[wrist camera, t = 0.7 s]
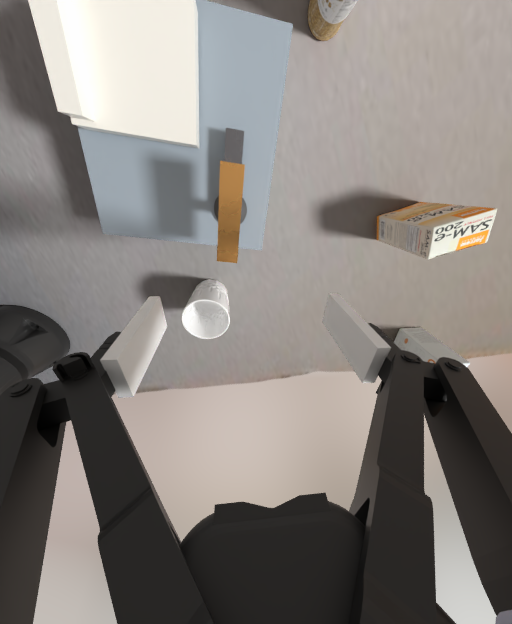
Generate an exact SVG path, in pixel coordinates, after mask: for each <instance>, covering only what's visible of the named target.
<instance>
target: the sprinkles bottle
mask: <svg viewBox="0 0 512 624" xmlns="http://www.w3.org/2000/svg"><path fill="white" fill-rule="evenodd" d="M357 1H358V0H310V3H309V8H308V23H309V27H310V30H311V32H312V34H313V35H314V36H315V37H316V38H317V39H319V40H322V41H327V40H329V39H331V38H332V37H333V36H334V35H335V34H336V33H337V31H338V30H339V28H340V26H341V24H342V22H343V21H344V19H345V18H346V17H347V16H348V14H349V13H350V11H351V10H352V8H353V7H354V5H355V4H356V3H357Z"/></svg>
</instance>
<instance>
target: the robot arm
mask: <svg viewBox="0 0 512 624" xmlns="http://www.w3.org/2000/svg"><path fill="white" fill-rule="evenodd" d="M322 322H323V323H324V325H325V327H326V328H327V330H328V331H329V333H330V334H331V336H332V337H333V339H334V340H335V342H336V343H337V345H338V346H339V348H340V349H341V351H342V353H343V354H344V356H345V357H346V359H347V360H348V362H349V363H350V365H351V366H352V368H353V369H354V371H355V372H356V374H357V375H358V377H359V378H360V380H361V382H362V383H374V382H375V380H376V378H377V376H379V377H380V378H381V380H382V381H381V384H380V385H379V387H378V389H377V391H376V393H377V394H378V396H377V400H376V404H375V409H374V413H373V418H372V422H371V427H370V431H369V435H368V440H367V444H366V449H365V453H364V458H363V462H362V467H361V471H360V475H359V480H358V485H357V488H356V493H355V496H354V499H353V502H352V504H351V507H350V510H349V511H347V510H346V509H344V508H343V507H341V506H339V505H337V504H334V503H332V502H329V501H328V500H327V497H326V493H319V494H310V495H300V496H297V497H296V498H293V499H291V500H289V501H287V502H285V503H283V504H281V505H279V506H277V507H275V508H267V507H263V506H258V505H255V504H250V503H246V502H236V503H227V504H217V505H215V511H214V513H213V514H211V515H209V516H208V517H206V518H205V519H203V520H202V521H200V522H199V523H198V524H197V525H196V526H195V527H194V528H193V529H192V530H191V531H190V532H189V533H188V534H187V536H186V537H185V538H184V539H183V541H182V542H181V541H180V539H179V537H178V535H177V533H176V531H175V529H174V527H173V525H172V523H171V521H170V519H169V517H168V515H167V513H166V511H165V509H164V507H163V504H162V502H161V500H160V498H159V496H158V494H157V492H156V490H155V488H154V486H153V484H152V481H151V479H150V477H149V475H148V473H147V471H146V469H145V467H144V465H143V463H142V460H141V458H140V456H139V454H138V452H137V450H136V448H135V446H134V444H133V442H132V440H131V437H130V435H129V433H128V431H127V429H126V427H125V425H124V423H123V421H122V419H121V417H120V414H119V413H118V411H117V408H116V406H115V404H114V402H113V400H112V398H111V397H112V395H113V394H114V392H115V391H116V393H117V395H118V397H119V398H123V397H134V395H135V393H136V391H137V389H138V386H139V384H140V382H141V380H142V378H143V376H144V374H145V372H146V370H147V368H148V366H149V363H150V361H151V359H152V357H153V355H154V353H155V351H156V349H157V347H158V345H159V343H160V340H161V338H162V336H163V334H164V332H165V330H166V328H167V323H166V319H165V315H164V311H163V307H162V303H161V299H160V296H149V297H148V299H147V300H146V301H145V303H144V304H143V305H142V307H141V308H140V309H139V310H138V312H137V313H136V314H135V316H134V317H133V318H132V319H131V321H130V322H129V323H128V325H127V326H126V327H125V329H124V330H123V331H122V332H115V333H114V334H112V335H111V336H109V337H108V338H107V339H106V340H105V342H104V343H103V344H102V345H101V346H100V348H99V349H98V350H97V351H96V352H95V353H94V355H93V356H92V357H91V358H90V356H89V355H88V354H87V353H83V352H79V353H74V354H70V355H68V356H66V355H67V353H68V352H69V349H70V341H69V338H68V336H67V334H66V333H65V331H64V330H63V329H62V328H61V327H60V326H59V325H58V324H57V323H56V322H55V321H53V320H52V319H50V318H49V317H47V316H45V315H43V314H41V313H39V312H37V311H34V310H32V309H28V308H25V307H20V306H0V624H33V618H34V613H35V607H36V601H37V595H38V589H39V583H40V577H41V571H42V565H43V559H44V553H45V547H46V540H47V535H48V528H49V523H50V516H51V511H52V504H53V499H54V493H55V486H56V480H57V474H58V468H59V462H60V456H61V450H62V444H63V438H64V432H65V426H66V422H67V421H70V420H71V421H72V424H73V428H74V432H75V436H76V440H77V443H78V447H79V451H80V455H81V458H82V462H83V466H84V470H85V473H86V477H87V481H88V485H89V488H90V492H91V496H92V500H93V503H94V507H95V511H96V515H97V519H98V522H99V526H100V533H99V535H98V546H99V551H100V555H101V559H102V563H103V567H104V571H105V576H106V579H107V583H108V588H109V591H110V596H111V599H112V604H113V608H114V612H115V616H116V620H117V623H118V624H456V623H455V622H454V621H453V620H452V619H451V618H450V617H449V616H448V615H447V613H446V612H445V611H444V610H443V609H442V608H441V607H440V606H439V605H438V604H437V603H436V589H435V556H434V523H433V506H432V501H431V499H430V497H428V496H427V495H425V493H424V415H425V418H426V421H427V423H428V427H429V430H430V433H431V436H432V439H433V442H434V444H435V447H436V451H437V453H438V457H439V459H440V462H441V466H442V469H443V471H444V474H445V477H446V480H447V484H448V486H449V489H450V492H451V496H452V498H453V502H454V505H455V508H456V510H457V513H458V516H459V519H460V522H461V525H462V528H463V531H464V534H465V537H466V540H467V543H468V546H469V549H470V552H471V555H472V558H473V561H474V564H475V566H476V569H477V572H478V575H479V577H480V580H481V582H482V585H483V587H484V589H485V592H486V594H487V596H488V598H489V600H490V603H491V605H492V607H493V609H494V612H495V613H496V615H497V617H496V624H512V434H511V432H510V431H509V429H508V428H507V426H506V425H505V423H504V422H503V420H502V418H501V417H500V416H499V414H498V413H497V411H496V409H495V408H494V407H493V405H492V403H491V402H490V401H489V399H488V398H487V396H486V395H485V393H484V392H483V390H482V388H481V387H480V385H479V384H478V382H477V381H476V379H475V378H474V376H473V375H472V373H471V372H470V370H469V369H468V368H467V367H466V366H465V365H463V364H462V363H461V362H459V361H457V360H455V359H451V358H447V357H441V358H439V359H438V360H437V362H436V363H431V362H425V361H423V360H422V359H421V358H420V357H419V356H417V355H416V354H414V353H412V352H409V351H405V350H401V349H400V348H399V347H398V346H397V345H396V344H395V343H394V342H392V341H391V340H390V339H389V338H388V337H387V336H386V335H385V334H384V333H383V332H382V331H381V330H380V329H379V328H378V327H376V326H375V325H373V324H371V323H367V322H366V321H365V320H364V319H363V318H362V317H361V316H360V315H359V314H358V313H357V312H356V311H355V310H354V309H353V308H352V307H351V306H350V305H349V304H348V303H347V302H346V301H345V300H344V299H343V298H342V297H341V296H340V295H339V294H338V293H329V295H328V299H327V304H326V308H325V312H324V317H323V321H322ZM52 366H53V371H54V373H55V374H56V375H57V377H58V378H59V380H58V381H55V382H51V383H47V384H43V383H42V382H41V380H39V379H38V378H31V377H33V376H35V375H37V374H39V373H41V372H43V371H44V370H46V369H48V368H50V367H52ZM29 378H31V379H29Z"/></svg>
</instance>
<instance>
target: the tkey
mask: <svg viewBox="0 0 512 624" xmlns="http://www.w3.org/2000/svg"><path fill="white" fill-rule="evenodd" d="M243 142H244V131H242V130H237V129H231V128H226V133H225V159H224V161H220V179H219V212H218V245H217V261H222V262H233V263H237V258H238V245H239V233H240V220H241V208H242V196H243V183H244V171H245V165H243V164H242V156H243Z"/></svg>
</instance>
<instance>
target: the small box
mask: <svg viewBox="0 0 512 624" xmlns="http://www.w3.org/2000/svg"><path fill="white" fill-rule="evenodd" d="M394 343H395V344H396V345H397V346H398V347H399V348H400V349H401V350H405V351H409V352H412V353H414V354H416V355H417V356H419V357H420V358H421V359H422V360H423V361H425V362H431V363H436V362H437V360H438V359H439V358H441V357H447V358H451V359H455V360H457V361H459V362H461V363H462V364H463V365H465V366H466V367H468V366H469V364H470V362H468V361H467V360H466V359H464V358H463V357H462V356H460V355H459V354H458V353H456V352H455V351H453V350H452V349H451V348H449V347H448V346H447V345H445V344H444V343H443V342H441V341H440V340H438V339H437V338H436V337H434V336H433V335H432V334H430V333H429V332H427V331H426V330H425V329H423V328H422V327H417V328H400V329H399V331H398V334H397V336H396V338H395V340H394Z"/></svg>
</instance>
